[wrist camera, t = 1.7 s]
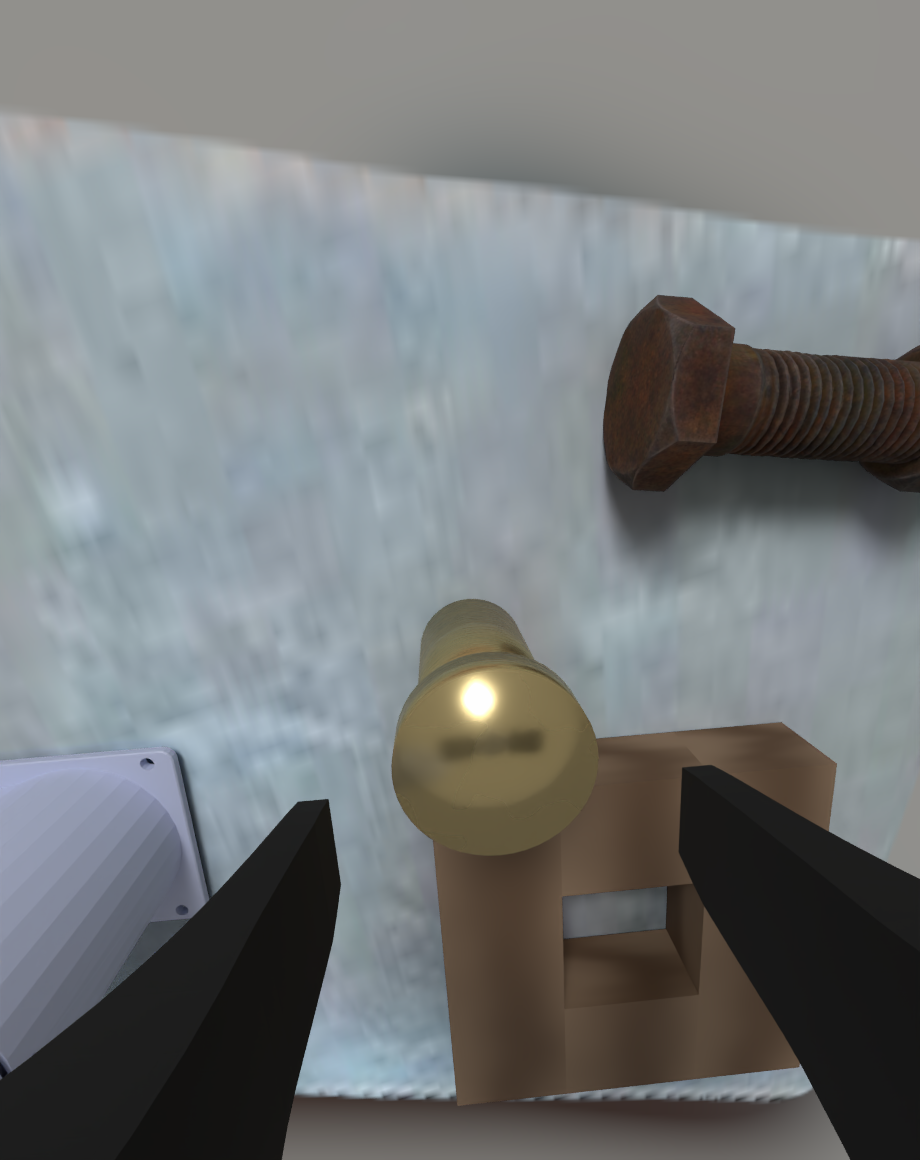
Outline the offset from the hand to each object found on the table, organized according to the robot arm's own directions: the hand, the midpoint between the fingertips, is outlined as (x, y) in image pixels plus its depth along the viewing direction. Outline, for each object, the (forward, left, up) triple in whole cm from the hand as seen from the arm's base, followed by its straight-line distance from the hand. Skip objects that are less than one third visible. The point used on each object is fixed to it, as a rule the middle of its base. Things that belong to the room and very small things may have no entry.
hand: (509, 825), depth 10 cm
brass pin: (0, 0, -10) cm, 10 cm away
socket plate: (+5, -12, -10) cm, 17 cm away
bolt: (+13, +8, -10) cm, 18 cm away
